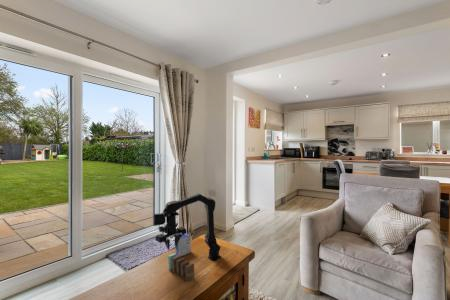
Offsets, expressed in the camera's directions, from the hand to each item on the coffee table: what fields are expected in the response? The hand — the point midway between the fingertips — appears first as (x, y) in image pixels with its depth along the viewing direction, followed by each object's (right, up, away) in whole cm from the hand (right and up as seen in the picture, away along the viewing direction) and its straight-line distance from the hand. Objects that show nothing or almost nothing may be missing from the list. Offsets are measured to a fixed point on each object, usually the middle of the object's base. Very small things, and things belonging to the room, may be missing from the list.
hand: (172, 248), depth 132 cm
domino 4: (+10, -12, -9) cm, 18 cm away
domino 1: (0, -12, 0) cm, 12 cm away
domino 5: (+13, -12, -12) cm, 21 cm away
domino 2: (+4, -12, -3) cm, 13 cm away
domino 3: (+7, -12, -6) cm, 15 cm away
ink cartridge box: (+4, -12, +18) cm, 22 cm away
